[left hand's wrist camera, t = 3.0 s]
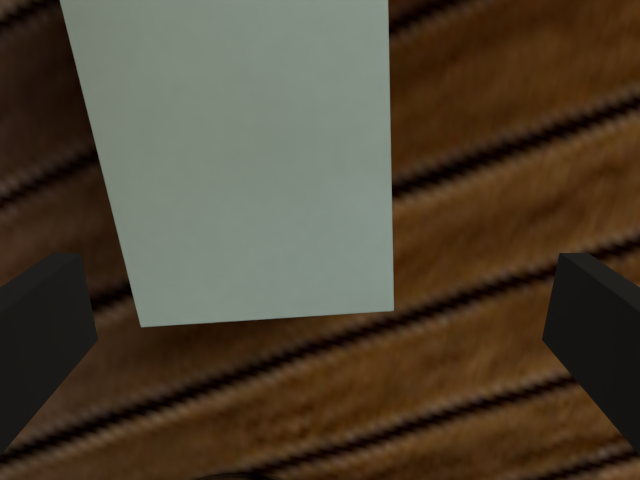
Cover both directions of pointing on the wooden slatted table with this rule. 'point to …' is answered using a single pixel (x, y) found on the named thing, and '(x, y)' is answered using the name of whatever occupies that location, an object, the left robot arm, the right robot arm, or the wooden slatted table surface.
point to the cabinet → (243, 152)
